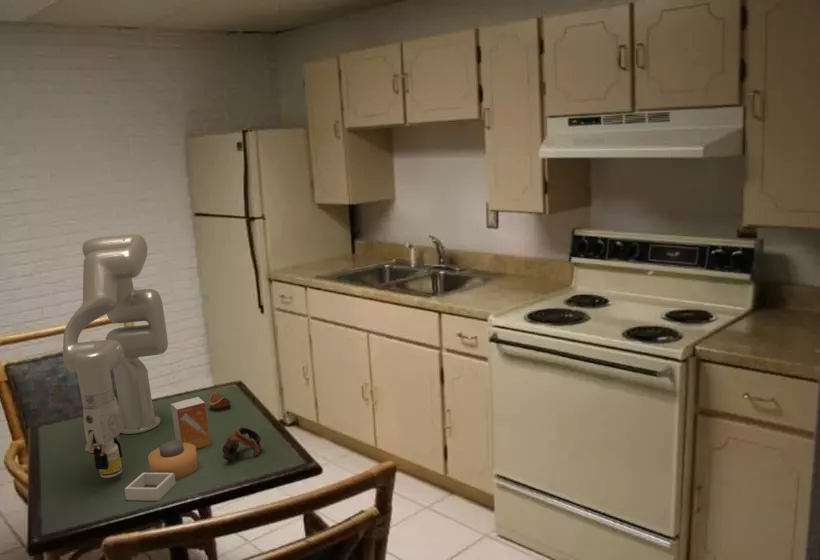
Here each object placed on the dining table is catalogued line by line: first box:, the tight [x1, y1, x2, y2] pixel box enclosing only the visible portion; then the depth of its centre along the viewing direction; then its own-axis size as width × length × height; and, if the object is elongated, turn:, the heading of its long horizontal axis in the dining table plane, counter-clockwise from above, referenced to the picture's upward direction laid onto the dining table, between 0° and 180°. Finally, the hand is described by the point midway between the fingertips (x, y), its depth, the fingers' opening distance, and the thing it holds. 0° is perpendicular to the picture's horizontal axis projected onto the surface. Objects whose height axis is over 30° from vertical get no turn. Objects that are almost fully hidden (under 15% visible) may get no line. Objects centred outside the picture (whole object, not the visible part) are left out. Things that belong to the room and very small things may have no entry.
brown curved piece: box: [222, 427, 262, 460], centre depth 199 cm, size 12×10×8 cm
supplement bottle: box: [96, 439, 123, 479], centre depth 189 cm, size 5×5×10 cm
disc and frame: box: [124, 439, 199, 502], centre depth 188 cm, size 12×22×7 cm, turn 170°
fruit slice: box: [207, 390, 231, 409], centre depth 237 cm, size 8×7×5 cm
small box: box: [170, 396, 211, 450], centre depth 207 cm, size 8×6×13 cm
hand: (109, 462), depth 189 cm, fingers closed on supplement bottle, 5 cm apart
